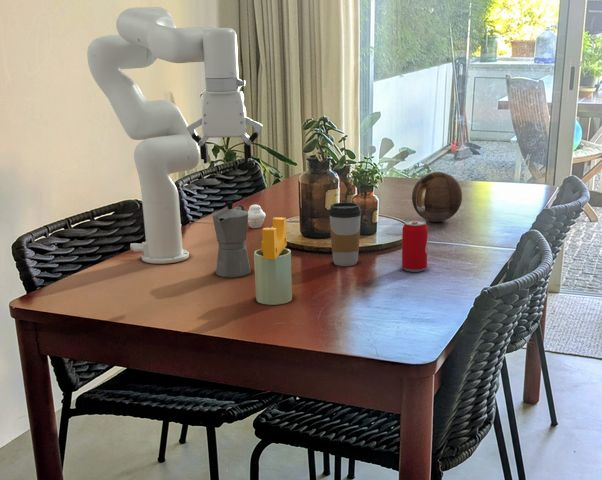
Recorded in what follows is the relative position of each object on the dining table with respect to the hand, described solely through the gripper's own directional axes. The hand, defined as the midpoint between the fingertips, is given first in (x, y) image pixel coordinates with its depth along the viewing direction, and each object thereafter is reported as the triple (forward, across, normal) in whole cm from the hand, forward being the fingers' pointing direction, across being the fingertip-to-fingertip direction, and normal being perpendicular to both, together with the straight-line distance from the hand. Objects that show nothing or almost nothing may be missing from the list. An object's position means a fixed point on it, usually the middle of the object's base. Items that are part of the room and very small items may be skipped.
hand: (226, 162), depth 202 cm
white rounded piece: (+28, -2, -54) cm, 61 cm away
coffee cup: (+28, -28, -12) cm, 42 cm away
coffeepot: (+28, 0, -6) cm, 29 cm away
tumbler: (+28, -11, +17) cm, 35 cm away
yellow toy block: (+18, -11, +17) cm, 27 cm away
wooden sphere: (+28, -57, -57) cm, 86 cm away
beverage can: (+28, -45, -5) cm, 54 cm away
